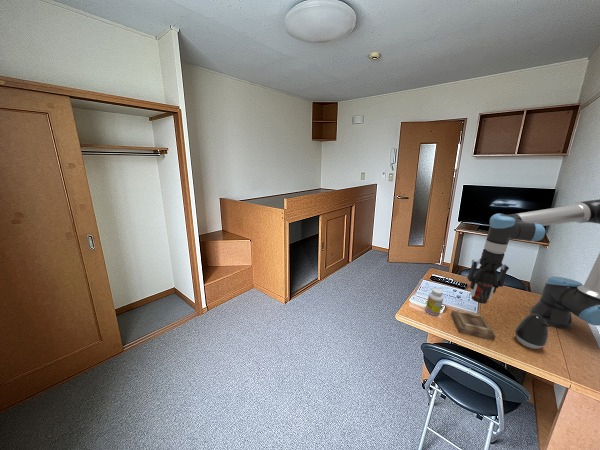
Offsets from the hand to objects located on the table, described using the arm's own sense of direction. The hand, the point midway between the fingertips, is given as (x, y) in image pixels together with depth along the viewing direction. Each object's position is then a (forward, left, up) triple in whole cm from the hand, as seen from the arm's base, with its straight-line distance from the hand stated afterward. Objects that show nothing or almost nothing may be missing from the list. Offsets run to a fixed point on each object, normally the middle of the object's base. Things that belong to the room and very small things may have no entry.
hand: (480, 296), depth 113 cm
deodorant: (0, 0, -2) cm, 2 cm away
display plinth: (0, 0, -17) cm, 17 cm away
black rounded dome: (-21, +4, -17) cm, 27 cm away
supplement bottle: (+16, -6, -17) cm, 24 cm away
